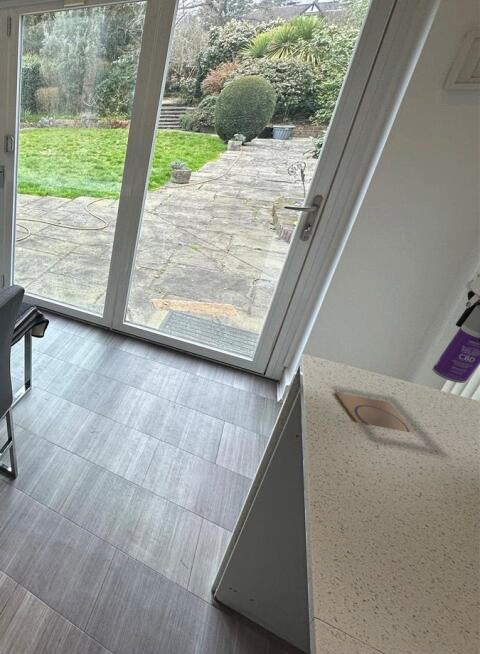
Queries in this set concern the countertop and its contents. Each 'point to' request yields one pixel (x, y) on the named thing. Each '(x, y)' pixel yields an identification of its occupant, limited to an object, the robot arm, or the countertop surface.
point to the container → (461, 351)
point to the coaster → (374, 412)
